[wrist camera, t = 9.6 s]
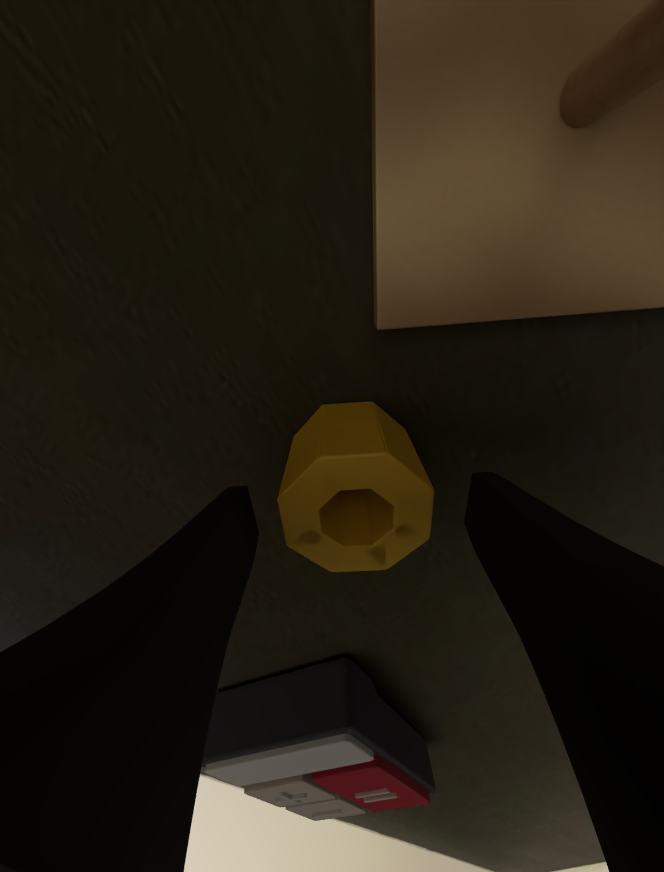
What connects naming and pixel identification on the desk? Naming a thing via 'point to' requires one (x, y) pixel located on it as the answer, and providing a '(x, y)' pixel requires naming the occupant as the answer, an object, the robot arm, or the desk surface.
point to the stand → (516, 159)
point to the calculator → (318, 744)
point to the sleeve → (354, 490)
